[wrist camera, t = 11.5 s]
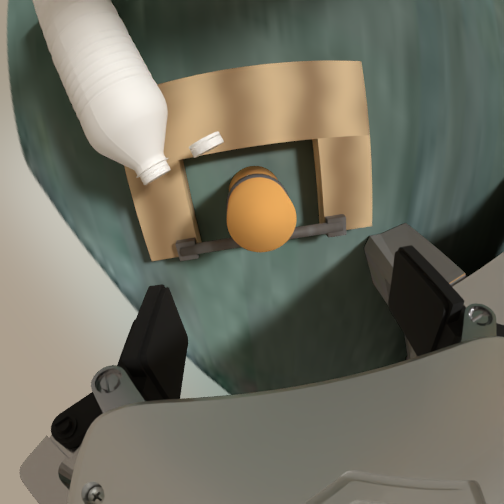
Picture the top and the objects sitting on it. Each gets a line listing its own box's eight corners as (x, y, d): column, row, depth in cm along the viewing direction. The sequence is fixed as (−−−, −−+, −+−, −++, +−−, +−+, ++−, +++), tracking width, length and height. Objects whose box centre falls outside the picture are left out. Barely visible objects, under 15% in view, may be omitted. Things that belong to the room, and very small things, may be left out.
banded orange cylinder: (277, 161, 26) (294, 180, 19) (283, 211, 28) (300, 247, 21) (223, 169, 26) (219, 191, 19) (232, 219, 28) (232, 258, 21)
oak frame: (352, 64, 22) (366, 59, 19) (364, 219, 29) (376, 231, 26) (118, 100, 22) (105, 99, 19) (156, 252, 29) (149, 267, 27)
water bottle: (45, 9, 15) (132, 197, 23) (19, -15, 9) (110, 207, 17) (116, -35, 15) (221, 145, 23) (103, -68, 9) (228, 137, 17)
